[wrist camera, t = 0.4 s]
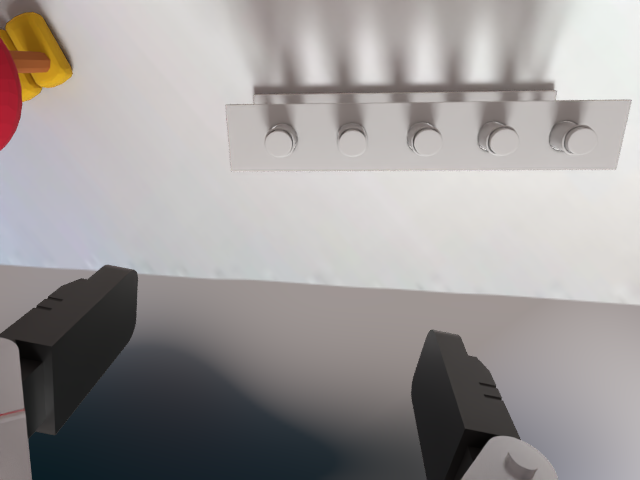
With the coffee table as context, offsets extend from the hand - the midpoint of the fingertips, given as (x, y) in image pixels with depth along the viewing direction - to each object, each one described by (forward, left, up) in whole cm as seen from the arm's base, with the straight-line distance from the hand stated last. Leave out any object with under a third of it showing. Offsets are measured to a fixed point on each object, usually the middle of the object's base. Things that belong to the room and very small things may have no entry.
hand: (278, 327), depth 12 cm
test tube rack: (-6, +3, -30) cm, 31 cm away
